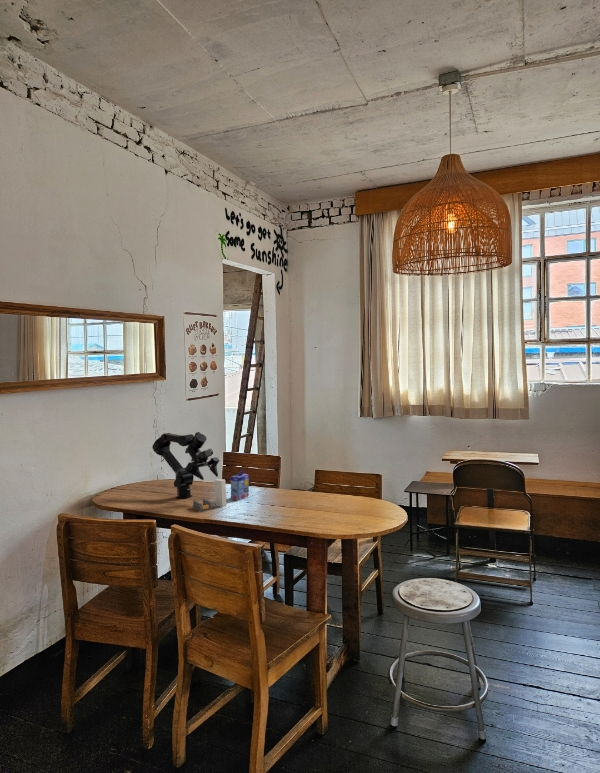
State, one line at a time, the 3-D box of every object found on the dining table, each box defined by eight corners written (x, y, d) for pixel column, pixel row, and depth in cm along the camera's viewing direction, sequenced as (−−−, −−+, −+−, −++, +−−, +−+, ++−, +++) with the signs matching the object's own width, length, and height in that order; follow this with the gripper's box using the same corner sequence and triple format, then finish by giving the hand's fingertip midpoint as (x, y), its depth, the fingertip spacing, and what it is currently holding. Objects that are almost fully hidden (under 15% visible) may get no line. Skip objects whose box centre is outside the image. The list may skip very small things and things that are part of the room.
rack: (192, 507, 260) (192, 500, 260) (205, 504, 264) (205, 498, 264) (199, 511, 252) (198, 504, 252) (212, 508, 256) (212, 502, 256)
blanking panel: (215, 505, 262) (214, 479, 261) (219, 504, 264) (218, 478, 263) (222, 507, 258) (221, 481, 258) (226, 506, 260) (225, 480, 260)
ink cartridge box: (239, 501, 269) (238, 473, 269) (230, 500, 272) (229, 472, 271) (249, 496, 278) (248, 469, 277) (241, 495, 281) (240, 468, 280)
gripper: (187, 446, 261) (202, 471, 255) (216, 441, 275) (231, 464, 269) (178, 460, 267) (193, 485, 260) (207, 455, 281) (222, 478, 274)
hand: (210, 477), depth 266 cm, fingers open, 9 cm apart
